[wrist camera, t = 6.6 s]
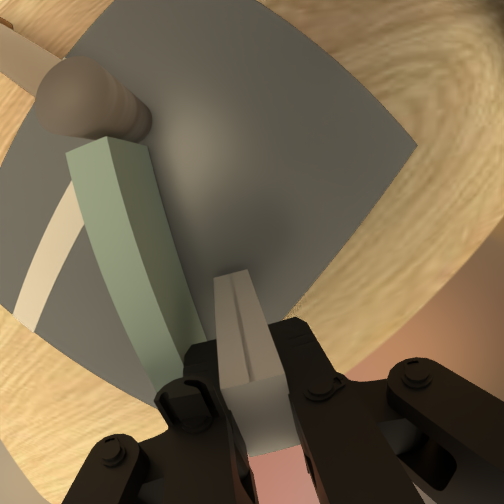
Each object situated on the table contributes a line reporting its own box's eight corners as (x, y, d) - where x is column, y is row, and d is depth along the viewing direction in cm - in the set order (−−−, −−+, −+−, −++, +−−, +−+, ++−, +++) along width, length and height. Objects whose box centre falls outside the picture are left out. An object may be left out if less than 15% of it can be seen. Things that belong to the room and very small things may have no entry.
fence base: (4, 17, 8) (-62, -20, 2) (162, 116, 12) (121, 77, 6) (-16, 47, 9) (-88, 21, 2) (134, 154, 12) (70, 150, 6)
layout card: (168, -44, 9) (167, -48, 9) (414, 145, 14) (418, 145, 13) (-32, 269, 12) (-36, 271, 12) (185, 419, 16) (185, 423, 16)
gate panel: (115, 157, 12) (44, 157, 6) (155, 144, 12) (110, 130, 6) (195, 384, 15) (196, 478, 9) (228, 377, 15) (241, 471, 9)
